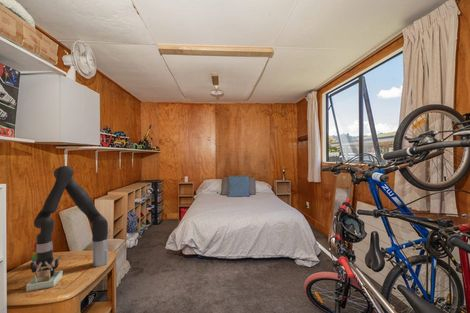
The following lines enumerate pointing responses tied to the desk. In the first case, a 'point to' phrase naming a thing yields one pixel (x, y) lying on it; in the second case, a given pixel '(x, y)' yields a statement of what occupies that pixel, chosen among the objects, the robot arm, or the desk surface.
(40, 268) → the robot arm
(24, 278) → the desk surface
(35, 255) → the stacking bear
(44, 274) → the oak crate
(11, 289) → the desk surface
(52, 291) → the desk surface
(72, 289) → the desk surface
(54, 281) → the green crate
